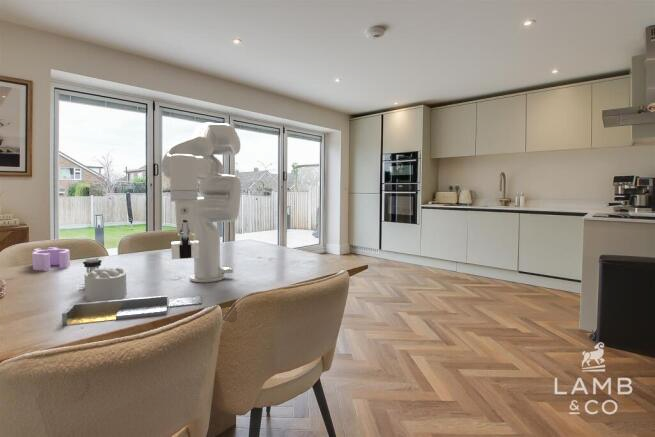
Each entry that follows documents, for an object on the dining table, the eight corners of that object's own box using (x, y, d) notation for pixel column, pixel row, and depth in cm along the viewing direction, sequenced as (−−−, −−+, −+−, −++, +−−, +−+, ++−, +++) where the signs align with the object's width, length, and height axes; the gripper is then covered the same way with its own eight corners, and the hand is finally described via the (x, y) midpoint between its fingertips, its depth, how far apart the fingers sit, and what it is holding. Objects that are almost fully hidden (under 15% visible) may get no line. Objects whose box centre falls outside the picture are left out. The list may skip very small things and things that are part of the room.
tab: (200, 297, 111) (200, 296, 111) (201, 303, 104) (201, 302, 104) (169, 300, 107) (169, 299, 107) (169, 307, 101) (169, 306, 101)
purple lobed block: (26, 265, 152) (26, 249, 151) (61, 261, 161) (61, 246, 161) (37, 272, 139) (36, 255, 138) (74, 267, 148) (74, 251, 148)
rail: (167, 305, 103) (167, 295, 102) (166, 314, 95) (166, 303, 95) (71, 314, 94) (71, 304, 93) (62, 325, 86) (61, 313, 86)
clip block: (198, 254, 109) (198, 240, 108) (198, 257, 105) (198, 243, 104) (172, 256, 106) (171, 241, 105) (171, 259, 102) (171, 244, 101)
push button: (80, 291, 115) (79, 261, 114) (77, 287, 119) (76, 258, 118) (104, 287, 120) (103, 258, 119) (100, 284, 123) (99, 256, 123)
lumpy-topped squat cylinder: (117, 289, 118) (117, 264, 118) (133, 297, 110) (132, 270, 109) (81, 295, 110) (80, 268, 110) (95, 304, 102) (94, 276, 101)
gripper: (198, 197, 97) (199, 261, 99) (196, 195, 113) (197, 250, 114) (169, 197, 94) (171, 263, 96) (171, 195, 110) (172, 251, 112)
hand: (185, 255), depth 105 cm, fingers closed on clip block, 4 cm apart
